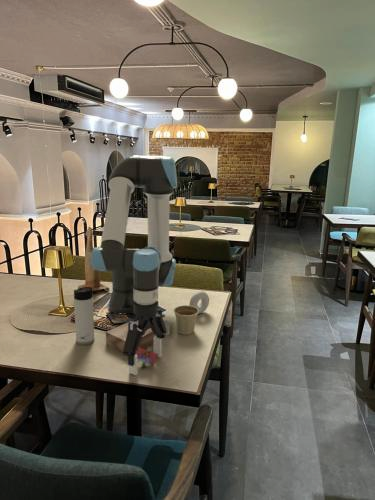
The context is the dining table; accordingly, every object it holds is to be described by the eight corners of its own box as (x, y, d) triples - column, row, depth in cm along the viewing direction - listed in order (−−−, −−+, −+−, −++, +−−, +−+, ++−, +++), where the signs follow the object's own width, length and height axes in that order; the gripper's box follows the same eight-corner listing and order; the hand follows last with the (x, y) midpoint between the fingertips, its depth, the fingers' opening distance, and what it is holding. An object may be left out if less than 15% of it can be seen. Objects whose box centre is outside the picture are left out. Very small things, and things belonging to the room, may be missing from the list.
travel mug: (85, 347, 127) (83, 292, 121) (72, 341, 130) (69, 288, 125) (98, 340, 132) (97, 287, 127) (85, 335, 135) (83, 283, 130)
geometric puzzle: (163, 354, 120) (148, 335, 118) (161, 365, 113) (145, 346, 112) (145, 365, 121) (131, 347, 120) (142, 377, 114) (127, 358, 113)
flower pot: (180, 339, 134) (180, 317, 132) (169, 328, 142) (169, 307, 140) (202, 334, 139) (203, 313, 136) (190, 323, 147) (191, 303, 144)
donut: (192, 317, 152) (193, 295, 150) (187, 315, 155) (188, 292, 152) (210, 312, 158) (211, 290, 156) (205, 309, 161) (206, 287, 158)
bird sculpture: (97, 285, 186) (93, 223, 179) (110, 291, 178) (107, 226, 171) (77, 291, 179) (72, 226, 171) (90, 297, 171) (85, 229, 163)
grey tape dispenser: (165, 335, 137) (151, 325, 145) (168, 334, 138) (154, 324, 145) (166, 321, 135) (151, 311, 143) (169, 320, 136) (154, 310, 144)
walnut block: (106, 344, 129) (106, 331, 128) (131, 332, 139) (131, 320, 137) (130, 356, 122) (130, 343, 121) (154, 343, 131) (154, 330, 130)
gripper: (129, 317, 100) (130, 387, 105) (178, 291, 120) (176, 351, 125) (108, 310, 104) (110, 378, 109) (159, 286, 123) (158, 345, 129)
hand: (145, 364), depth 117 cm, fingers open, 12 cm apart
